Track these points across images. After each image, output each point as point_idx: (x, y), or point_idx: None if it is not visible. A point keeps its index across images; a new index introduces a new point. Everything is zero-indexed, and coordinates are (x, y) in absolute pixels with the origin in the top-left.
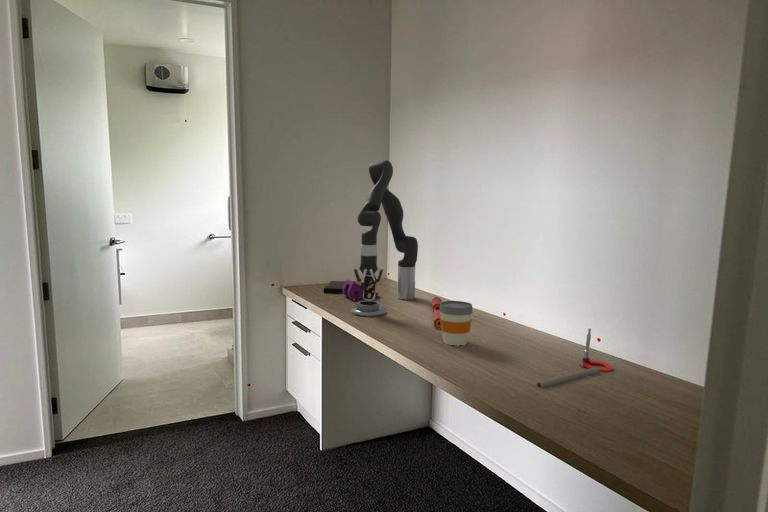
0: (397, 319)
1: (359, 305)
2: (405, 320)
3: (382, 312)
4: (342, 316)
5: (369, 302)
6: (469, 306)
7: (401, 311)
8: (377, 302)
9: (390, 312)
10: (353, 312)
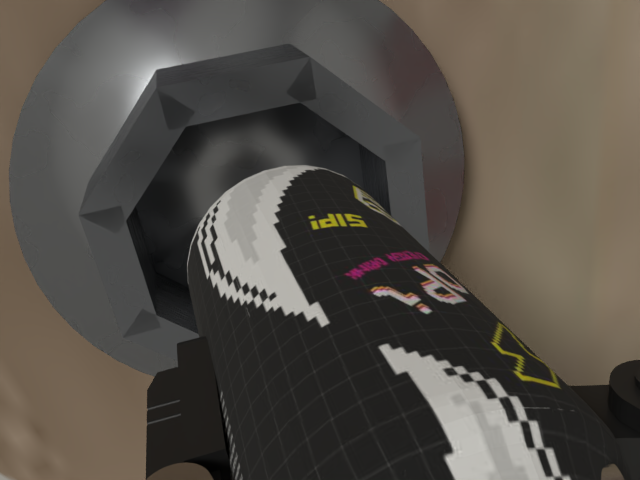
0: (569, 336)
1: (175, 352)
2: (631, 340)
3: (439, 254)
4: (28, 439)
5: (252, 108)
6: None
7: (625, 4)
8: (391, 150)
9: (503, 96)
10: (112, 350)
